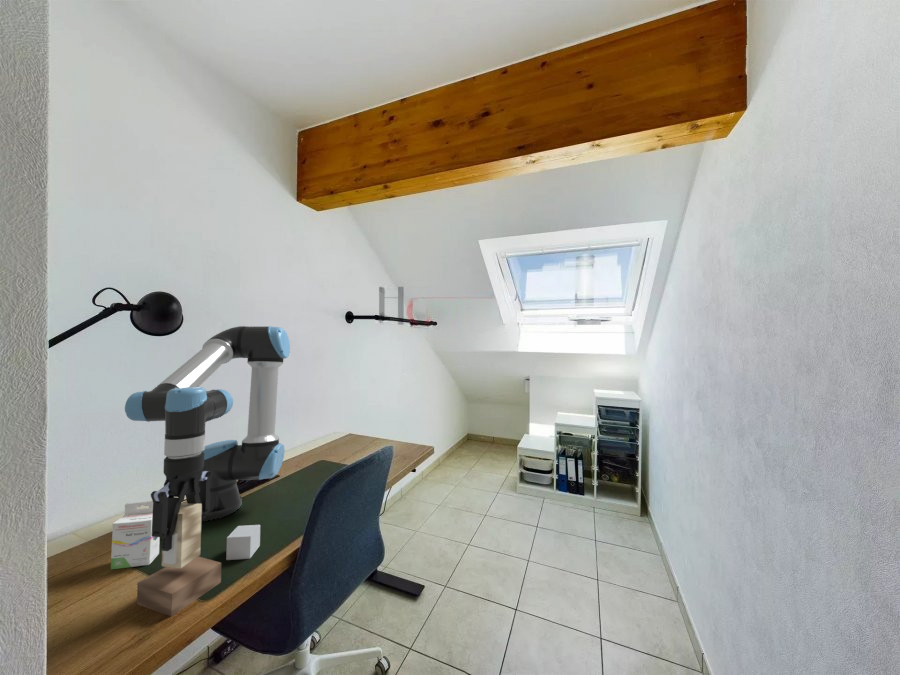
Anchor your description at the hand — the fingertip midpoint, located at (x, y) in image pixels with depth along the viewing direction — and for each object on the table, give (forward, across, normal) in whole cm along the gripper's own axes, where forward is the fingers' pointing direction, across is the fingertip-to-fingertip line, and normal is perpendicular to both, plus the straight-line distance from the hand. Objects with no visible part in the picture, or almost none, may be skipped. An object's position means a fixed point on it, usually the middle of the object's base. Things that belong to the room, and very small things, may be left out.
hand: (181, 554), depth 79 cm
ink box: (+9, -8, -22) cm, 25 cm away
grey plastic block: (+9, -16, +3) cm, 19 cm away
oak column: (+1, 0, 0) cm, 1 cm away
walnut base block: (+9, 0, 0) cm, 9 cm away
